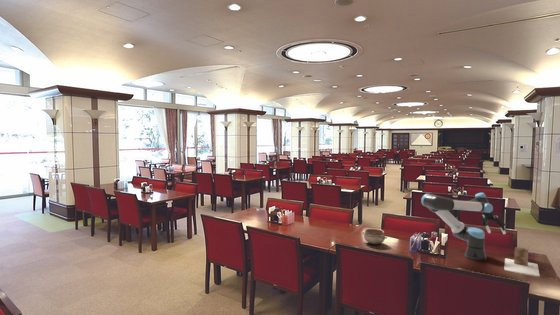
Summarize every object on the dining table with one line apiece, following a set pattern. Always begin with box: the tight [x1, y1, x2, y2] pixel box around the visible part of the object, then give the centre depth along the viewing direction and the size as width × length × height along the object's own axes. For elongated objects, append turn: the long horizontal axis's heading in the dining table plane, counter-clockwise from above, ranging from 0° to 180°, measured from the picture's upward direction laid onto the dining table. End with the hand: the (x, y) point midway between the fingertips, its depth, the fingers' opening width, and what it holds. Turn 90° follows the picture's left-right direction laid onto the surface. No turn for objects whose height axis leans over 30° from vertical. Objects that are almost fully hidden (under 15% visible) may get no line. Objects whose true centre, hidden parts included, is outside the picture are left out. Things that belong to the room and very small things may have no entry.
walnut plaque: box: [513, 246, 529, 266], centre depth 236 cm, size 8×4×12 cm, turn 48°
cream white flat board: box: [503, 258, 541, 278], centre depth 232 cm, size 28×20×1 cm
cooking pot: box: [361, 228, 388, 246], centre depth 287 cm, size 25×19×12 cm
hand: (497, 233), depth 265 cm, fingers open, 13 cm apart
